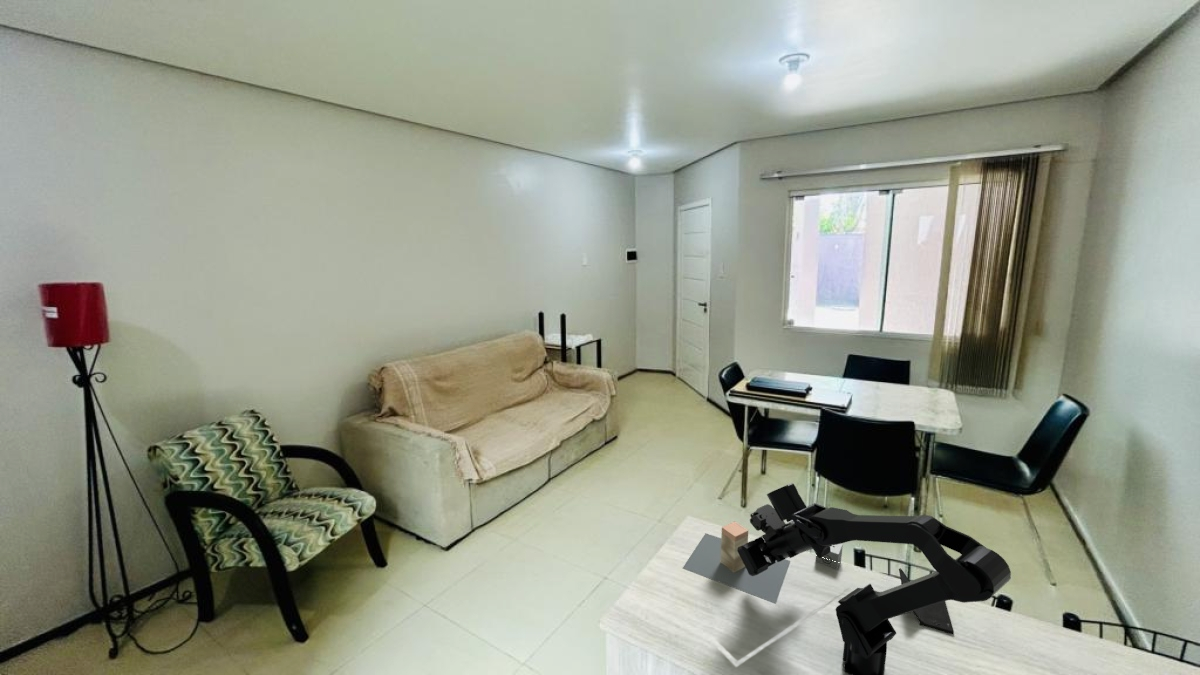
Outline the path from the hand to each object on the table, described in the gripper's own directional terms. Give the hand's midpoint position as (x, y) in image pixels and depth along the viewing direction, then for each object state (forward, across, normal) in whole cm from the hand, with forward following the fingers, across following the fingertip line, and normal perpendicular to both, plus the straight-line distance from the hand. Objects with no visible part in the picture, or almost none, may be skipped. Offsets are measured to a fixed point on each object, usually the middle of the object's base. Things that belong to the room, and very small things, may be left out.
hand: (753, 554), depth 112 cm
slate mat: (+9, 0, +1) cm, 9 cm away
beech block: (+9, 0, 0) cm, 9 cm away
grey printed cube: (+1, -22, +9) cm, 23 cm away
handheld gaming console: (-13, -25, +24) cm, 37 cm away
